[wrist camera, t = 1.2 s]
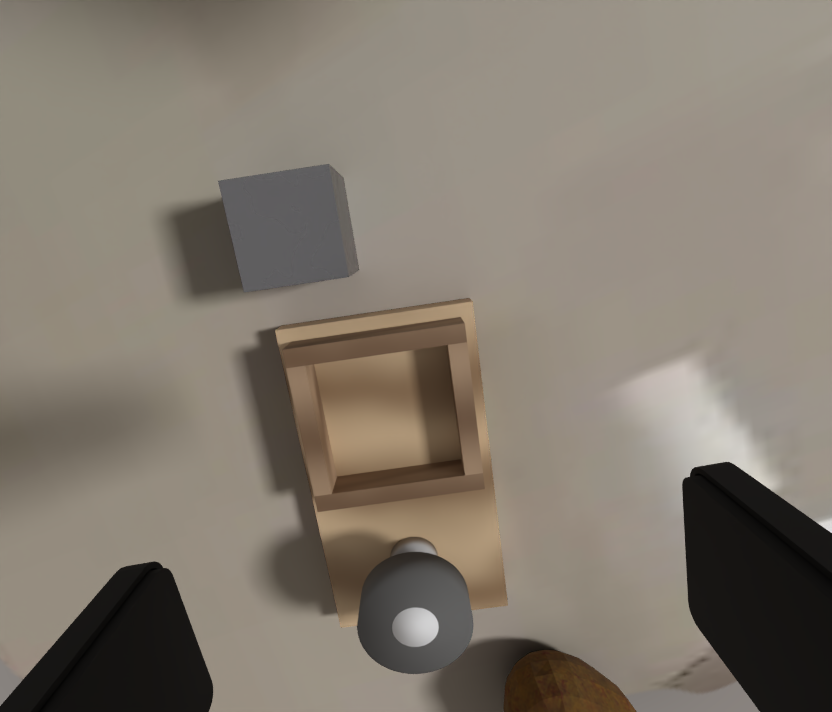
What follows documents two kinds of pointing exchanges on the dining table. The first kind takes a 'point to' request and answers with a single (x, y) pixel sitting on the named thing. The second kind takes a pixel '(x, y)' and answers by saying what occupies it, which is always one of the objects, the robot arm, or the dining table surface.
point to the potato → (560, 686)
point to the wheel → (415, 613)
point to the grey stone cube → (290, 227)
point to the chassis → (396, 444)
